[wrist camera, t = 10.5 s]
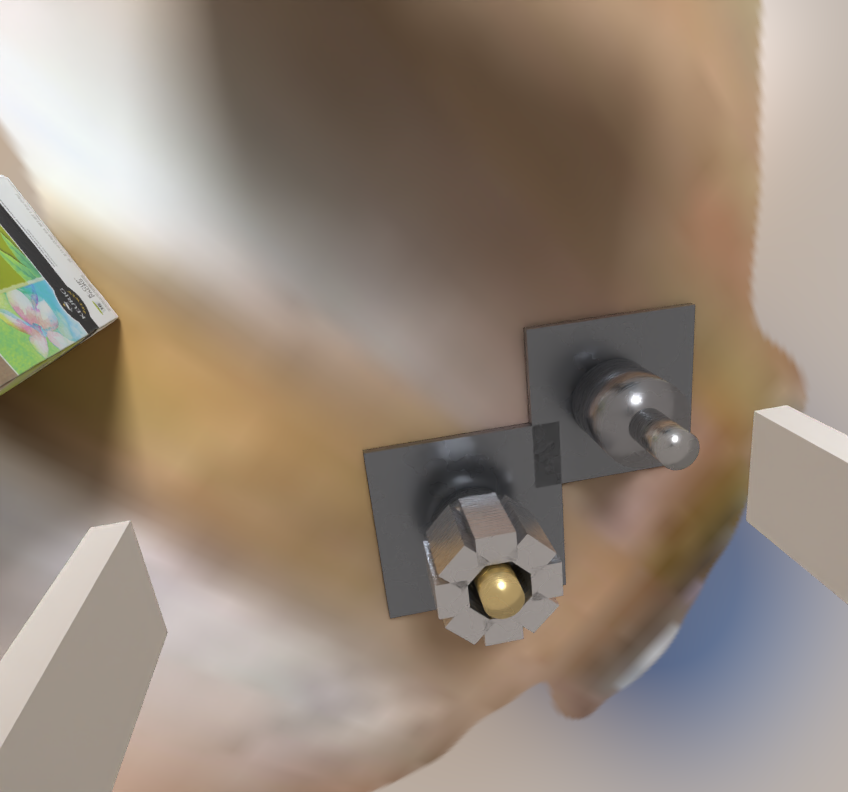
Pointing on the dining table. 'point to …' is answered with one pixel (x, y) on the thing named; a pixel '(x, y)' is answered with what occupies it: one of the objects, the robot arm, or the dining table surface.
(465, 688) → the dining table surface
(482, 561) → the ring
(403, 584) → the hub
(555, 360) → the stand
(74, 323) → the tea box
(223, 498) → the dining table surface
